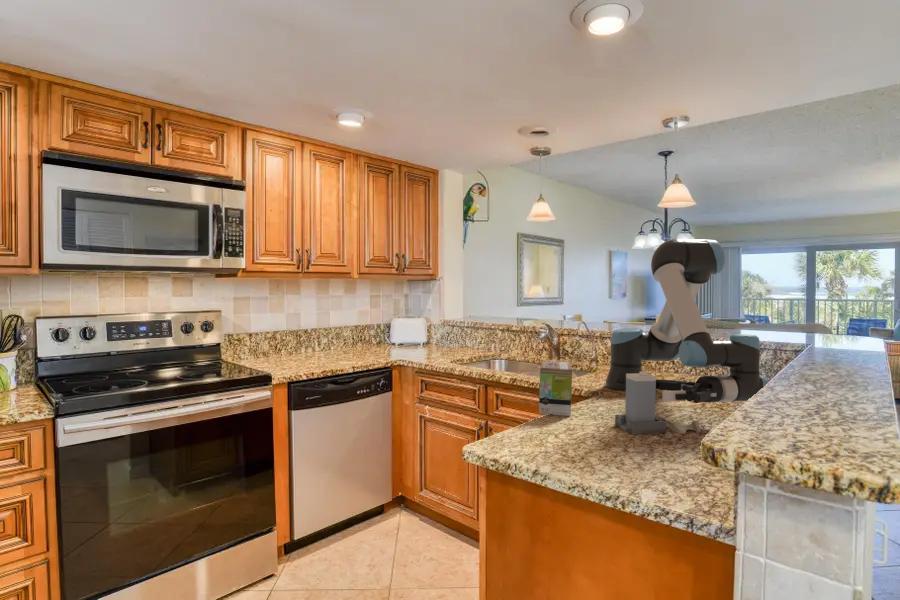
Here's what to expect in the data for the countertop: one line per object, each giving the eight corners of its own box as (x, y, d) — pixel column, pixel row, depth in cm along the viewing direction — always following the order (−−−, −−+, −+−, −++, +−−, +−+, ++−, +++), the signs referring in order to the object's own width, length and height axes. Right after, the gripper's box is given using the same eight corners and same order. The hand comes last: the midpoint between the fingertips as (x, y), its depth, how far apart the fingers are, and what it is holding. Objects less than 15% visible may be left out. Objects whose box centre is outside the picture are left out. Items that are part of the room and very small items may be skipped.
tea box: (571, 416, 149) (572, 368, 148) (538, 414, 151) (539, 367, 150) (569, 405, 163) (570, 361, 163) (539, 403, 165) (540, 360, 165)
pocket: (614, 425, 140) (615, 414, 140) (646, 423, 142) (646, 413, 142) (632, 434, 131) (632, 423, 131) (665, 432, 133) (666, 421, 133)
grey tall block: (625, 423, 138) (626, 370, 138) (644, 422, 139) (645, 370, 139) (635, 428, 133) (636, 374, 133) (654, 427, 135) (655, 373, 134)
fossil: (686, 436, 131) (687, 424, 131) (653, 426, 141) (653, 414, 140) (703, 433, 134) (703, 421, 134) (669, 423, 144) (670, 411, 144)
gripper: (748, 413, 128) (676, 415, 125) (686, 392, 153) (624, 394, 149) (749, 384, 128) (677, 386, 124) (687, 368, 153) (625, 369, 149)
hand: (648, 390), depth 137 cm, fingers open, 13 cm apart
